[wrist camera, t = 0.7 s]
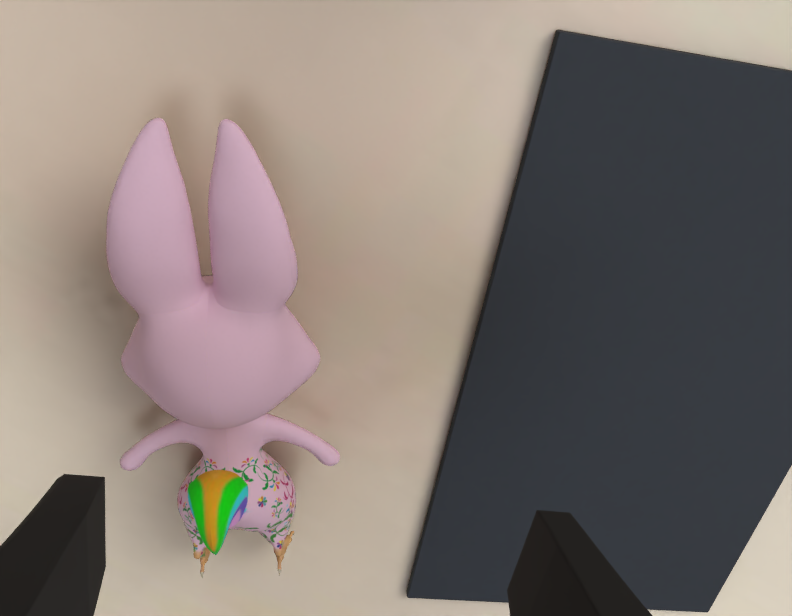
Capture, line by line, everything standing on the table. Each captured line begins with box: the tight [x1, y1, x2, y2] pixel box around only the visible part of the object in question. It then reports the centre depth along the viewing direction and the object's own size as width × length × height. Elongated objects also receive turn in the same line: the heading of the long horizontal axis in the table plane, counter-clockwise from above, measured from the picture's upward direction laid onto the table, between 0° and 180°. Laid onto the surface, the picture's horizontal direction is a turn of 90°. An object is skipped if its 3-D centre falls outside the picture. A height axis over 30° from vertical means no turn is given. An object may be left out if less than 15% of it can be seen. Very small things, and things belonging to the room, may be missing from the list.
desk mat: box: [407, 30, 792, 612], centre depth 24 cm, size 20×12×1 cm, turn 170°
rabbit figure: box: [106, 118, 340, 578], centre depth 19 cm, size 6×6×15 cm
